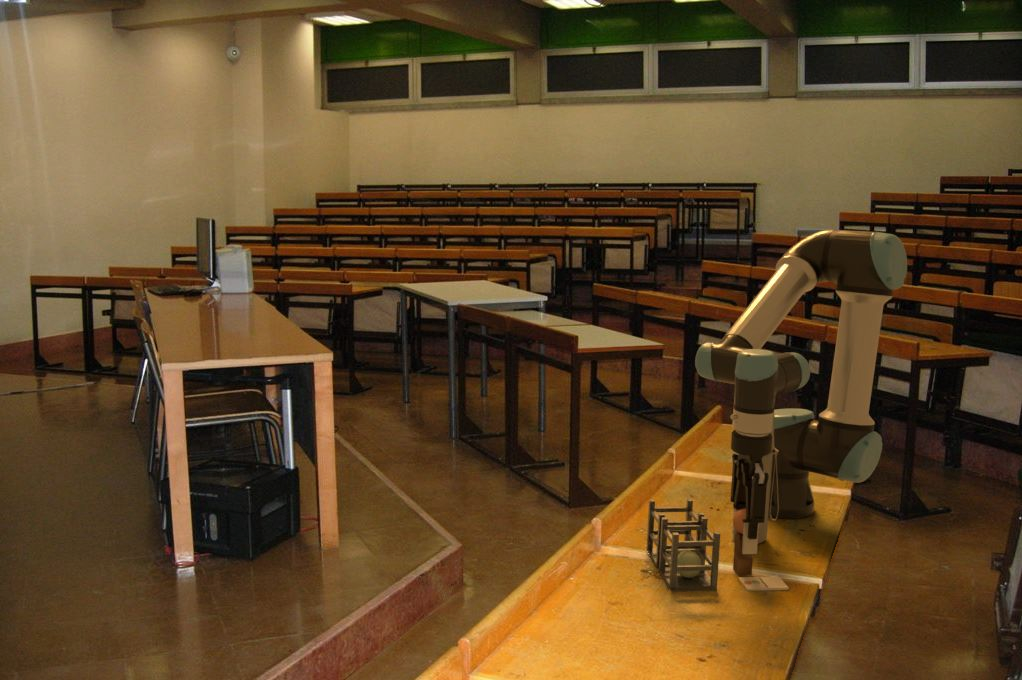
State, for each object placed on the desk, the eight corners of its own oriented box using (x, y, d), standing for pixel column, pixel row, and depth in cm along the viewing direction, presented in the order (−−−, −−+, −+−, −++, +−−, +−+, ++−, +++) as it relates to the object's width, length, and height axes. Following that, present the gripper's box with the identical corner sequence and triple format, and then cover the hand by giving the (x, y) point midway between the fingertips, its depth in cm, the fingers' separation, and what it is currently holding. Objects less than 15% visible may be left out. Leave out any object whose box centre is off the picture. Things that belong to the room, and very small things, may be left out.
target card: (778, 578, 188) (778, 576, 187) (788, 589, 183) (788, 587, 183) (738, 579, 187) (738, 576, 187) (747, 590, 182) (747, 588, 182)
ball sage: (696, 570, 188) (697, 546, 187) (704, 581, 183) (705, 556, 182) (671, 571, 188) (672, 546, 187) (678, 582, 183) (679, 557, 182)
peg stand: (746, 568, 192) (749, 531, 190) (751, 574, 189) (754, 537, 188) (732, 568, 192) (735, 532, 190) (737, 574, 189) (740, 537, 187)
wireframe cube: (688, 550, 200) (691, 499, 198) (701, 567, 192) (704, 514, 190) (646, 551, 199) (649, 499, 197) (657, 568, 191) (660, 515, 189)
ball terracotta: (753, 528, 192) (754, 504, 191) (762, 538, 187) (764, 513, 186) (728, 529, 191) (730, 505, 190) (737, 539, 186) (738, 514, 185)
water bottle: (729, 543, 205) (736, 427, 200) (734, 530, 212) (741, 418, 208) (774, 549, 202) (783, 432, 197) (777, 536, 209) (786, 423, 204)
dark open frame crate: (702, 570, 190) (706, 516, 188) (716, 589, 182) (720, 533, 180) (658, 571, 190) (661, 517, 188) (670, 590, 181) (673, 534, 179)
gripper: (718, 419, 194) (711, 530, 198) (749, 445, 176) (740, 567, 180) (754, 418, 194) (747, 529, 199) (789, 444, 177) (780, 566, 181)
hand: (744, 547), depth 190 cm, fingers closed on ball terracotta, 5 cm apart
